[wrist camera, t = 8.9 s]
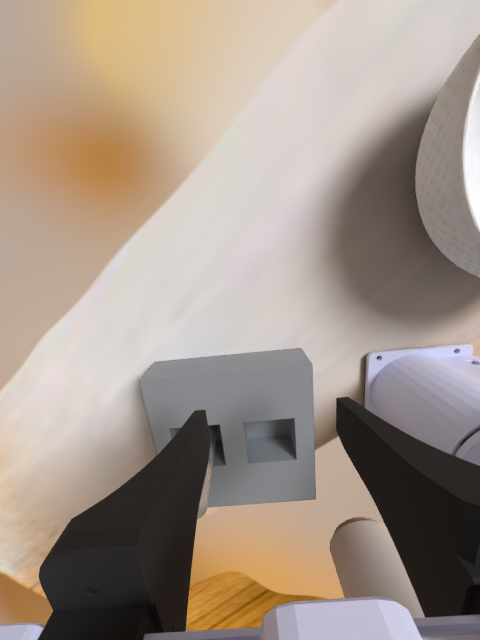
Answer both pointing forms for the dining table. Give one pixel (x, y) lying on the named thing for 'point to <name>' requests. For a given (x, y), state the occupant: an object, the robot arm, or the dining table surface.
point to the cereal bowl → (453, 166)
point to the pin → (208, 472)
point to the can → (371, 564)
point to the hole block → (242, 420)
